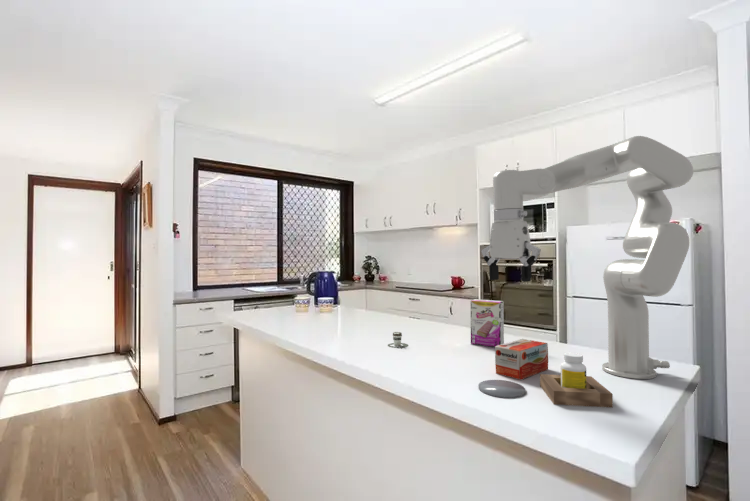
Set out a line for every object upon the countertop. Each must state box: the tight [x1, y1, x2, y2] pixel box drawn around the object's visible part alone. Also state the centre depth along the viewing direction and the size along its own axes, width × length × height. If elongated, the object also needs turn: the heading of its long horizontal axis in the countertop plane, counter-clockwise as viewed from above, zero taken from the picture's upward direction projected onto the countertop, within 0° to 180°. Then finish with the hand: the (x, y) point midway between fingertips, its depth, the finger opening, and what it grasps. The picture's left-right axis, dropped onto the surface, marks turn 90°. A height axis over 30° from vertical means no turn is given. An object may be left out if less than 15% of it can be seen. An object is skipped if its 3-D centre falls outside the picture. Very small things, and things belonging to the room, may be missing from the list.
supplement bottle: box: [560, 352, 587, 389], centre depth 90 cm, size 5×5×10 cm
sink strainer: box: [387, 331, 409, 349], centre depth 142 cm, size 12×12×5 cm
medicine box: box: [494, 338, 549, 381], centre depth 109 cm, size 15×8×8 cm, turn 129°
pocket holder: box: [539, 373, 614, 409], centre depth 90 cm, size 12×12×3 cm
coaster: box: [477, 379, 526, 399], centre depth 94 cm, size 11×11×1 cm
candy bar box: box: [470, 298, 505, 348], centre depth 141 cm, size 11×5×16 cm, turn 58°
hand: (509, 280), depth 103 cm, fingers open, 9 cm apart
